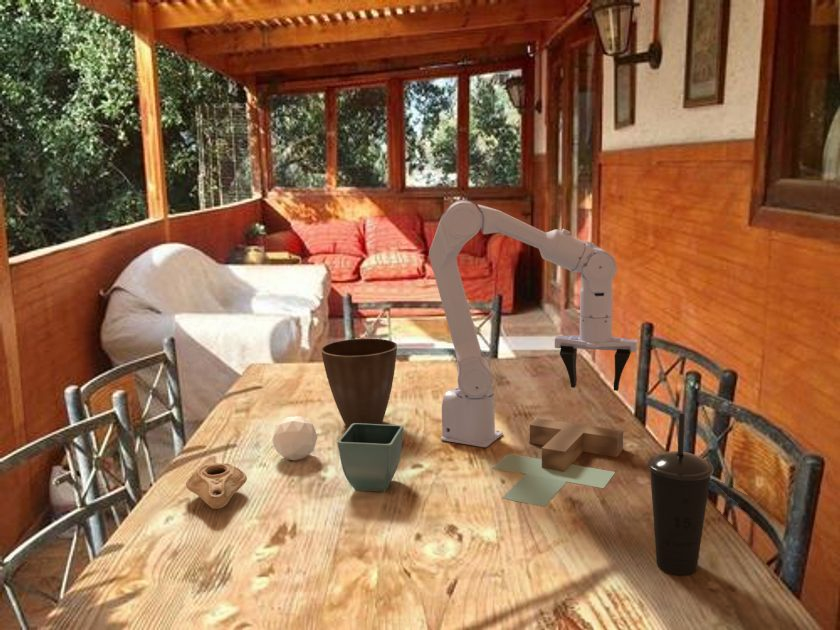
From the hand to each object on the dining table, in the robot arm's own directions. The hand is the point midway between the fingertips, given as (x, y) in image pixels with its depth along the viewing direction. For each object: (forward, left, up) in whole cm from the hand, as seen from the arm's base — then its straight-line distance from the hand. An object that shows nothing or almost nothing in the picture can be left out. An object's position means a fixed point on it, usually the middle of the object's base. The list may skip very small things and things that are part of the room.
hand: (594, 387), depth 138 cm
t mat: (-2, -23, -10) cm, 25 cm away
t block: (-2, -11, -9) cm, 15 cm away
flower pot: (-26, -36, -10) cm, 45 cm away
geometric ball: (-45, -32, -10) cm, 56 cm away
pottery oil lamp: (-45, -52, -10) cm, 69 cm away
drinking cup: (+22, -40, -10) cm, 47 cm away
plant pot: (-44, -12, -10) cm, 46 cm away
